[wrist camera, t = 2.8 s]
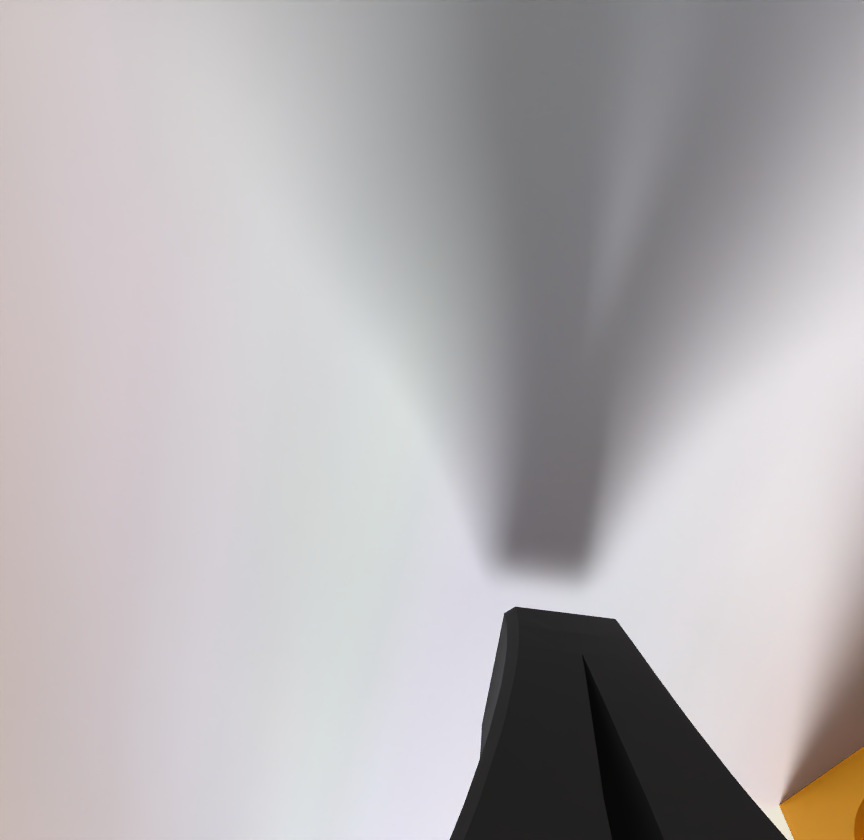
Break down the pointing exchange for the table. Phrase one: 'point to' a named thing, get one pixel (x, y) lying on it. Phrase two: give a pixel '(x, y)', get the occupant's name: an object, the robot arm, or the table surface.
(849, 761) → the orange notched block
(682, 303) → the table surface
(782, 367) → the table surface
